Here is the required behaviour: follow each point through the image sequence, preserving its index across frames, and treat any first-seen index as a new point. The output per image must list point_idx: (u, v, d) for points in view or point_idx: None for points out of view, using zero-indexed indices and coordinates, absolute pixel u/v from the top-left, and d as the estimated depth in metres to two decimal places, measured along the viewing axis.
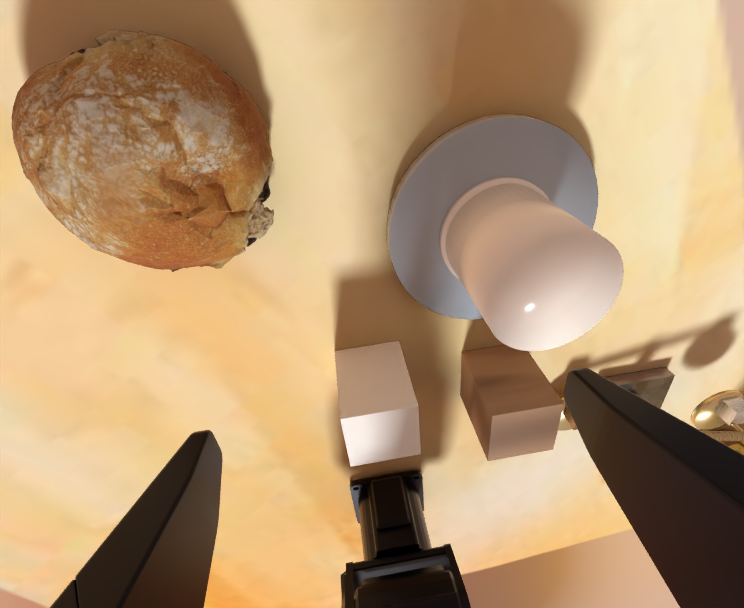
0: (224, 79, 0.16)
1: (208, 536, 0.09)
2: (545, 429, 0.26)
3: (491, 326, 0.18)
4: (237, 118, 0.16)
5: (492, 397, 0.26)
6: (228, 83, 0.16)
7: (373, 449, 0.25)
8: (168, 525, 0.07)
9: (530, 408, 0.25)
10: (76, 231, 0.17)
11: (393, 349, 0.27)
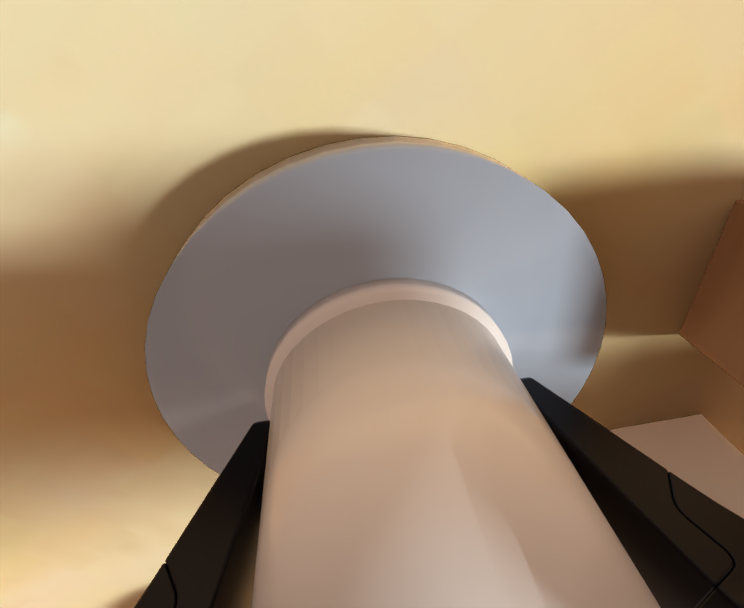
0: None
1: None
2: None
3: None
4: None
5: None
6: None
7: None
8: (247, 511, 0.07)
9: None
10: None
11: None
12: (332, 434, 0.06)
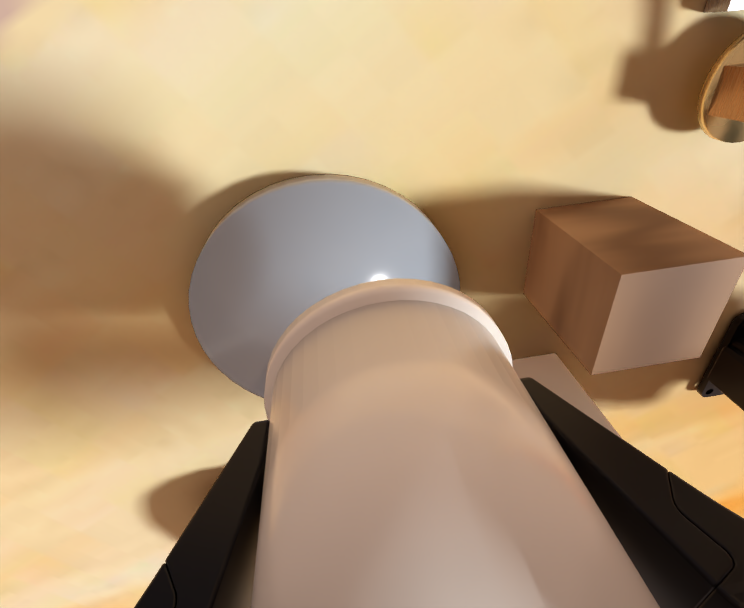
0: None
1: None
2: (676, 287, 0.14)
3: None
4: None
5: (574, 341, 0.17)
6: None
7: None
8: (247, 511, 0.07)
9: (604, 324, 0.14)
10: None
11: None
12: (331, 434, 0.06)
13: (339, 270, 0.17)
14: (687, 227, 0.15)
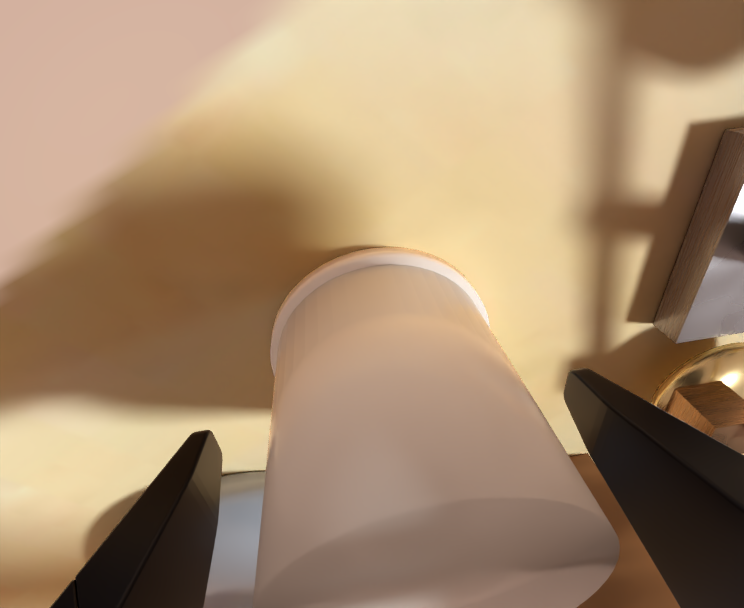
0: None
1: (208, 536, 0.09)
2: None
3: None
4: None
5: None
6: None
7: None
8: (168, 525, 0.07)
9: None
10: None
11: None
12: (328, 364, 0.08)
13: None
14: (639, 540, 0.14)
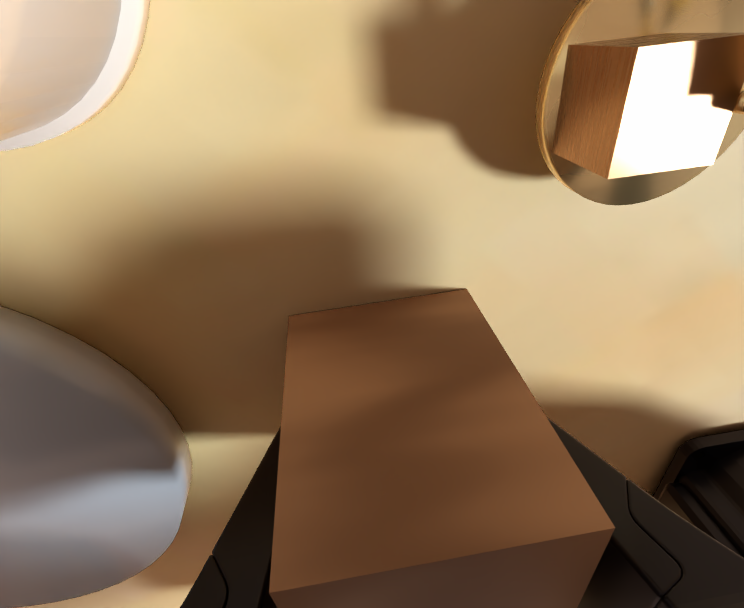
0: None
1: None
2: (443, 589, 0.06)
3: None
4: None
5: None
6: None
7: None
8: None
9: None
10: None
11: None
12: None
13: None
14: (519, 392, 0.07)
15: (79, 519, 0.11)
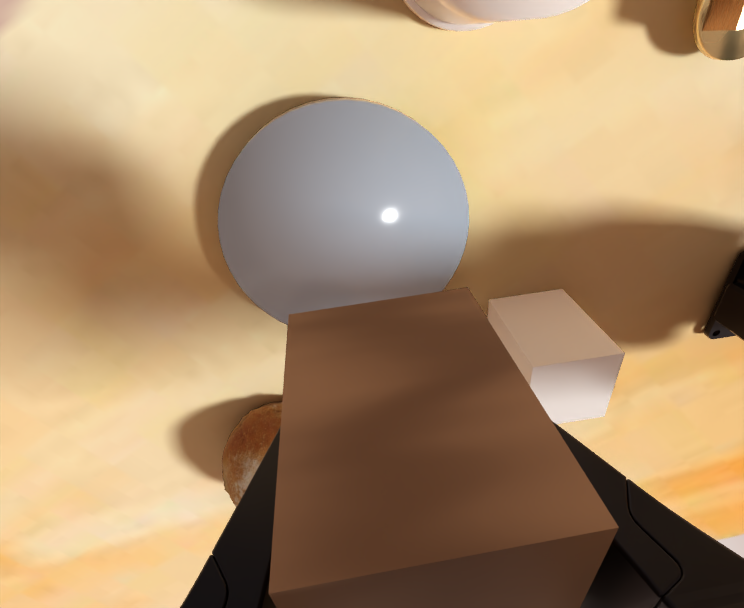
0: (236, 444, 0.25)
1: None
2: (444, 589, 0.06)
3: None
4: (254, 450, 0.24)
5: None
6: (238, 442, 0.25)
7: (586, 399, 0.21)
8: None
9: None
10: None
11: (493, 314, 0.24)
12: None
13: (355, 190, 0.18)
14: (521, 392, 0.07)
15: (408, 260, 0.21)
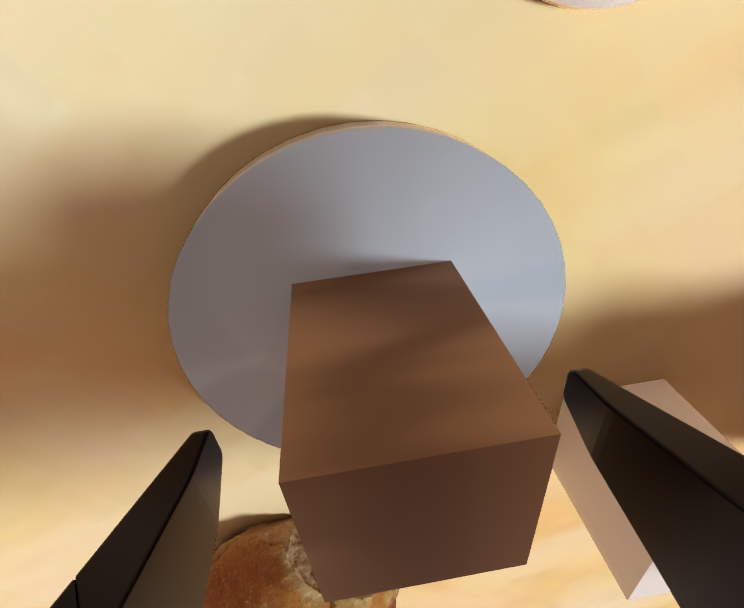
0: (211, 596, 0.17)
1: (208, 536, 0.09)
2: (421, 489, 0.07)
3: None
4: None
5: None
6: (214, 594, 0.17)
7: None
8: (168, 525, 0.07)
9: (304, 544, 0.07)
10: None
11: (572, 418, 0.17)
12: None
13: None
14: (491, 340, 0.08)
15: None
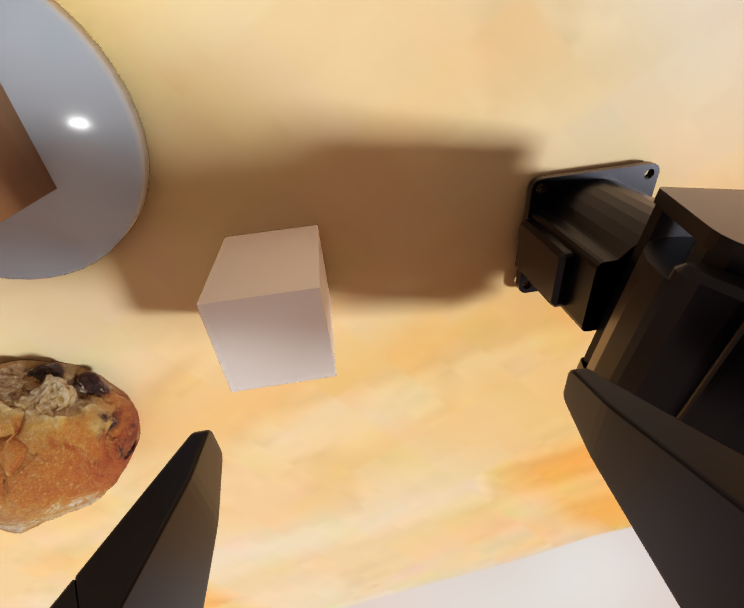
0: None
1: (208, 537, 0.09)
2: None
3: None
4: None
5: None
6: None
7: (300, 352, 0.16)
8: (168, 525, 0.07)
9: None
10: (85, 504, 0.23)
11: None
12: None
13: None
14: None
15: (65, 173, 0.16)
